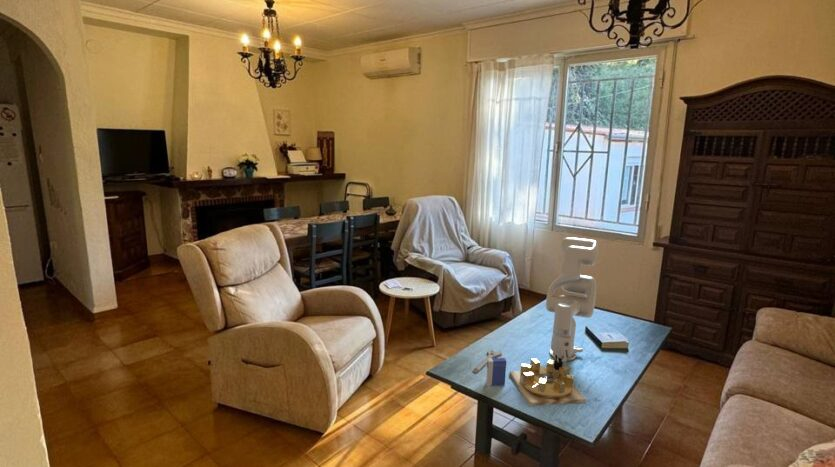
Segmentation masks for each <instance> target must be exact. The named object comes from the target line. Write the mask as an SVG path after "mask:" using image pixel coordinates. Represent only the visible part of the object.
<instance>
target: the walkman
mask: <svg viewBox="0 0 835 467" xmlns="http://www.w3.org/2000/svg"><path fill="white" fill-rule="evenodd" d="M506 370H507V359H506V358H505V357H496V358H488V362H487V365H486V379H485V381H486V386H487V387H492V386H494V387H495V386H497V387H498V386H506V383H505V382H506V372H507V371H506Z"/></svg>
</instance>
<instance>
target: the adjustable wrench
mask: <svg viewBox="0 0 835 467" xmlns="http://www.w3.org/2000/svg"><path fill="white" fill-rule="evenodd" d="M486 354H487V356H486V357H485V358H484V359H483V360H482V361H480V362H479V363H478V364H477V365H476V366H475V367H473V370H472V372H473V373H475V374H477V373H479V372H480V371H482V369H484V368H485V367H486V366H487V365H486V364H487V362H488V358H500V357H501V356H502V350H501V349H498V351H494V348H491V349H488V351H486Z"/></svg>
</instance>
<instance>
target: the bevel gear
mask: <svg viewBox="0 0 835 467" xmlns="http://www.w3.org/2000/svg"><path fill="white" fill-rule="evenodd" d="M554 361H555V359H551V358H549V359H548V361H547V365H546V366H543V365H542V366H541V362H540V361H539V360H538V359H537V358H530V364H528V363H524V362H523V363H521V365H520V371H521V372H520V383H521V385H522V387H523V388H524V389H525V390H527V391H528V392H530V393H531V394H534V395H536V396H539V397H543V398H548V399H561V398H565V397H567V396H569V395H570V394H571V393H572V390H573V385H574V380H575V376H574V375H571V368H570V367H569V366H568V365H565V366H562V367H559V370H555V369H554Z"/></svg>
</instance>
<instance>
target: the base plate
mask: <svg viewBox="0 0 835 467" xmlns="http://www.w3.org/2000/svg"><path fill="white" fill-rule="evenodd" d="M520 372H521V370H515V371H514V370H509V376H510V378H511V379H512V380H513V383H515V385H516V387H517V388H518V390H519V392H520V393H521V395H522V396H523V399H525V401H526V402H527V404H528V405H529V407H533V406H534V407H535V406H549V405H563V404H565V405H566V404H577V403H578V404H581V403H586V397H585V396H584V395H583V394H582V393H581V392H580V391H579V390H578V388H577V387H576V386H575V385H574V384H573V390H572V393H571V394H570V395H569V396H567V397H565V398H561V399H548V398H543V397H539V396H536V395H534V394H531V393H530V392H528V391H527V390H525V389H524V388H523V387H522V385H521V383H520Z"/></svg>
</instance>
